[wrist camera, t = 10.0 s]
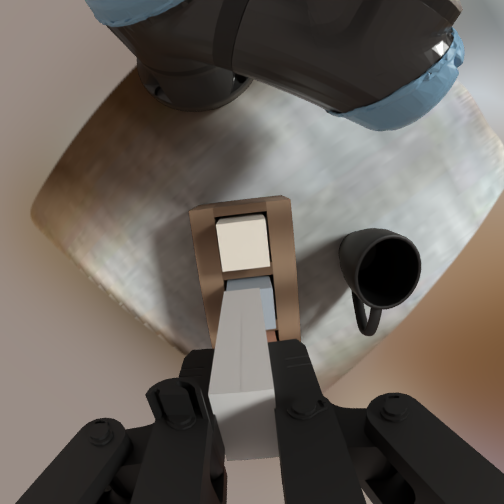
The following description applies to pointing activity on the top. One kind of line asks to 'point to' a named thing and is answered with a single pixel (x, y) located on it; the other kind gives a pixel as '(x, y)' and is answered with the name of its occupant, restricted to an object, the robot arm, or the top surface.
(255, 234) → the ivory key
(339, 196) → the top surface
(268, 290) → the slate key
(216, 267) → the brown wooden block
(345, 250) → the mug
